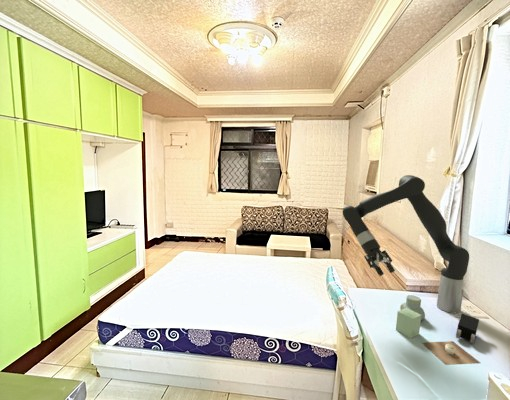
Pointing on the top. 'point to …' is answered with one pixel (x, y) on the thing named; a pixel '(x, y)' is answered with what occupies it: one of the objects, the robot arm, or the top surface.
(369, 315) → the top surface
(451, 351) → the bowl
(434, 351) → the walnut board
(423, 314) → the air freshener
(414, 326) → the light green rectangular block
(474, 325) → the figurine character
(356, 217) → the robot arm
